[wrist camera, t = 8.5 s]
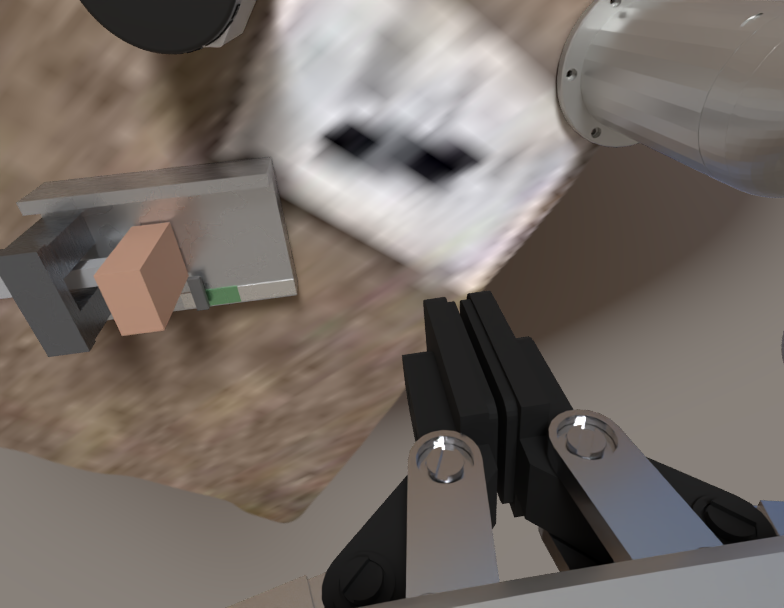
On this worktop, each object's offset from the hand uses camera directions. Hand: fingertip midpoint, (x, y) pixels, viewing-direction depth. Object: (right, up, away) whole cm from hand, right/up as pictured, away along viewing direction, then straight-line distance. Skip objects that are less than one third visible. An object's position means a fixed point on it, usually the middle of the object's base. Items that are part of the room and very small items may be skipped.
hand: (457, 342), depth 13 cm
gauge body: (-20, +7, +30) cm, 37 cm away
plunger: (-26, +3, +29) cm, 38 cm away
